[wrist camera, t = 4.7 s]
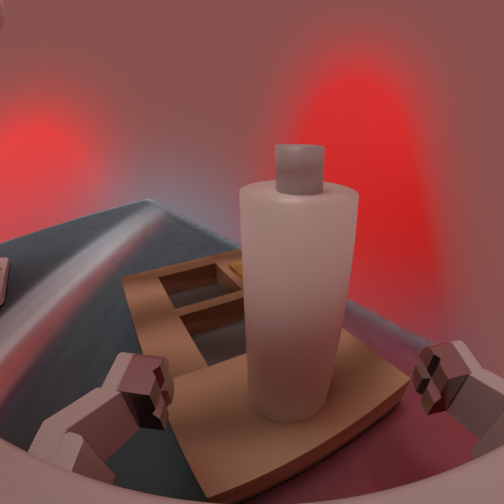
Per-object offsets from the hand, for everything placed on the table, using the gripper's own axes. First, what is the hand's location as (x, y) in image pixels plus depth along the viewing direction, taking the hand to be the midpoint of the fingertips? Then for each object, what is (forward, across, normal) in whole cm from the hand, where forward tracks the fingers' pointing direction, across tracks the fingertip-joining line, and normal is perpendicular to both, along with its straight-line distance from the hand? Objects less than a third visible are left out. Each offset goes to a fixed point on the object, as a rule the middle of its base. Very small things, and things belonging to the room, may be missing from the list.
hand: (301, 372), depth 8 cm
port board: (+10, +3, +8) cm, 13 cm away
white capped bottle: (+4, 0, +5) cm, 6 cm away
